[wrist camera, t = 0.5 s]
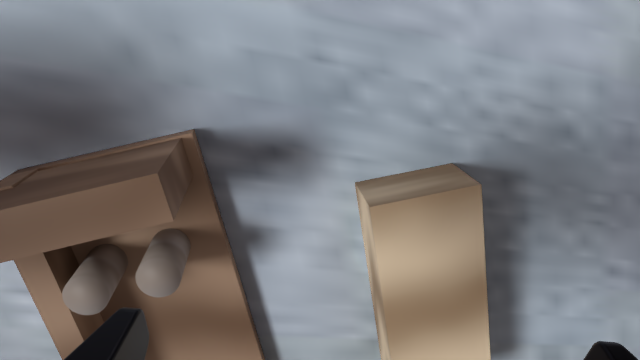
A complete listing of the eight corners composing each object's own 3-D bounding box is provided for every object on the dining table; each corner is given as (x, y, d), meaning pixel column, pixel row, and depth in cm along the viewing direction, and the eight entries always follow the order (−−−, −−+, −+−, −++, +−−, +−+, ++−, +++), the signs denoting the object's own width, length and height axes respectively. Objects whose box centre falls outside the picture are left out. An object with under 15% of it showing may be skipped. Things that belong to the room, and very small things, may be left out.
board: (464, 352, 28) (492, 398, 24) (382, 370, 27) (399, 419, 24) (449, 161, 24) (481, 184, 20) (353, 180, 24) (369, 207, 20)
